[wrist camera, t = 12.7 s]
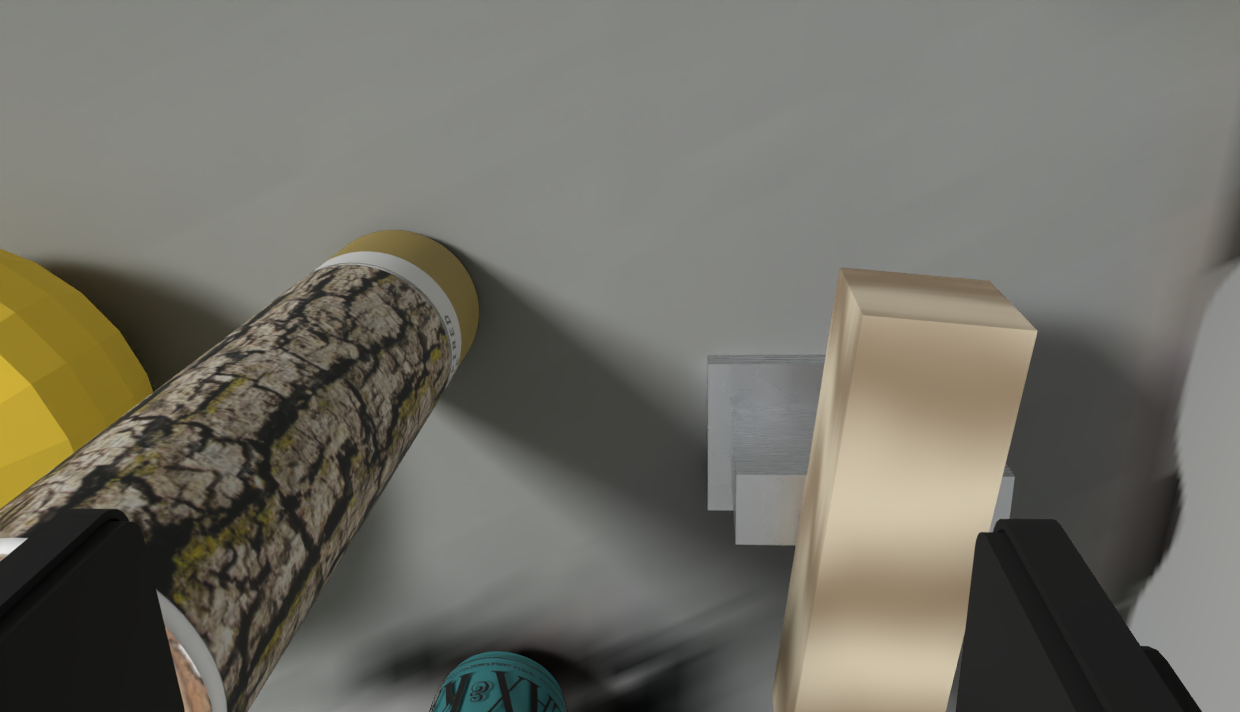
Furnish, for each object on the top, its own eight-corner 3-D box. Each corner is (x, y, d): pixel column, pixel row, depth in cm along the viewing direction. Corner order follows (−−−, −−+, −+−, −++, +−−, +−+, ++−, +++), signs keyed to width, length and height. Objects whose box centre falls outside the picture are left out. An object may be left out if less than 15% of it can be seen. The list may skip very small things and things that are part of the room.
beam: (839, 267, 33) (862, 315, 28) (989, 280, 33) (1037, 330, 28) (771, 694, 40) (781, 789, 35) (896, 707, 39) (922, 805, 35)
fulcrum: (707, 355, 42) (709, 425, 35) (994, 355, 41) (1050, 426, 34) (707, 499, 44) (709, 588, 38) (977, 501, 43) (1026, 594, 37)
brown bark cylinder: (482, 230, 41) (196, 567, 17) (483, 380, 43) (233, 850, 20) (323, 220, 41) (-167, 537, 18) (333, 369, 44) (-86, 819, 20)
